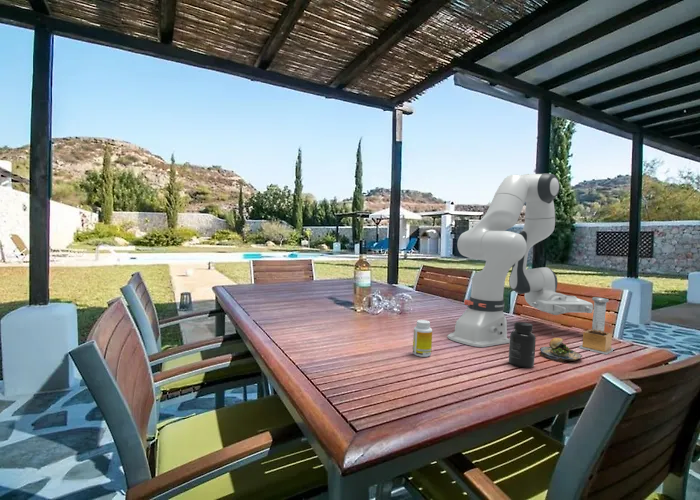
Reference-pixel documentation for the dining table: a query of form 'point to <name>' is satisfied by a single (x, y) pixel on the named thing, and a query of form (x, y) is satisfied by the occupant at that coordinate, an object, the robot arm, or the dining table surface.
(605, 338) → the block
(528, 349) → the supplement bottle
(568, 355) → the burger
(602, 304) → the drop pin
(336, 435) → the dining table surface
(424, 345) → the supplement bottle
